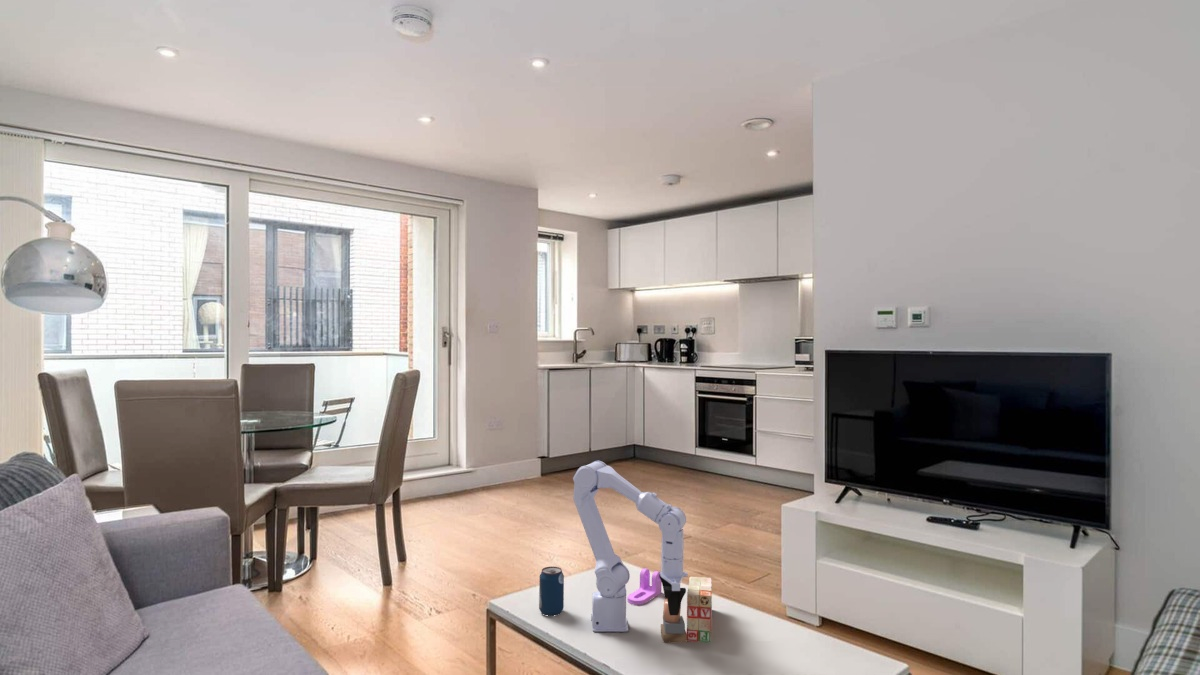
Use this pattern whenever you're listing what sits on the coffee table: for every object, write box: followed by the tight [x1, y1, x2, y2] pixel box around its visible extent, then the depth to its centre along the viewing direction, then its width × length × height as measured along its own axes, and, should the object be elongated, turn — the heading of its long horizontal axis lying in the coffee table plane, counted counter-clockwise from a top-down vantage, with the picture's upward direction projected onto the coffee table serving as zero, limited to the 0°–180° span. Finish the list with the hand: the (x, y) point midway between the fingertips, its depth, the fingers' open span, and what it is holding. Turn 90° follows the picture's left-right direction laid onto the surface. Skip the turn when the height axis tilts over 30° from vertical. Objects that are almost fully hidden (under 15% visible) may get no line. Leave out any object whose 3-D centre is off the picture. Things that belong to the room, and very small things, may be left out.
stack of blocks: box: [686, 576, 713, 644], centre depth 176 cm, size 21×6×12 cm, turn 170°
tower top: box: [662, 615, 686, 634], centre depth 167 cm, size 5×5×2 cm
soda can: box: [538, 566, 565, 617], centre depth 182 cm, size 7×7×12 cm
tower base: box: [660, 623, 688, 644], centre depth 168 cm, size 6×6×2 cm
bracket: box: [626, 567, 663, 606], centre depth 194 cm, size 13×6×7 cm, turn 146°
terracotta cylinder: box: [662, 598, 682, 623], centre depth 168 cm, size 4×4×4 cm
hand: (671, 608), depth 167 cm, fingers open, 7 cm apart
